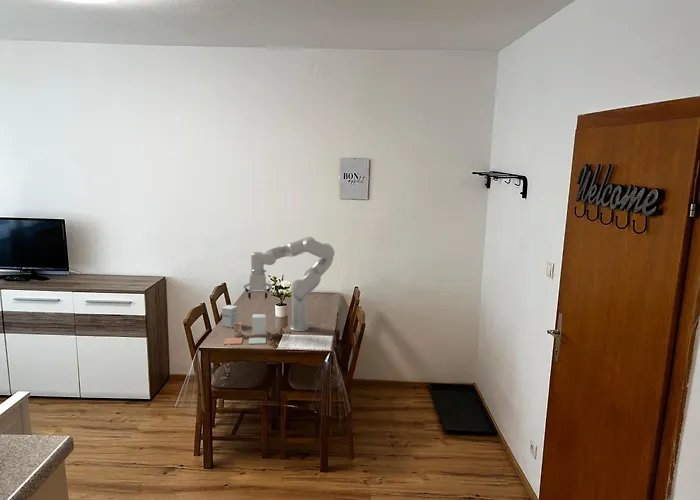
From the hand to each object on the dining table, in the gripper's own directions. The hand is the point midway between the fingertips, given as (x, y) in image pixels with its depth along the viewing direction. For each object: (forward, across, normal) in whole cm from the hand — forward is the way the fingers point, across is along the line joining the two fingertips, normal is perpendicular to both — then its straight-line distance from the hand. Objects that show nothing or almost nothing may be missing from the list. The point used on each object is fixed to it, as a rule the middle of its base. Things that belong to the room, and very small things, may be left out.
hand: (257, 298), depth 313 cm
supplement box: (+21, +18, -10) cm, 29 cm away
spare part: (+21, +12, +9) cm, 25 cm away
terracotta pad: (+21, +14, +19) cm, 31 cm away
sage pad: (+20, 0, +20) cm, 28 cm away
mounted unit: (+20, -1, +9) cm, 22 cm away
